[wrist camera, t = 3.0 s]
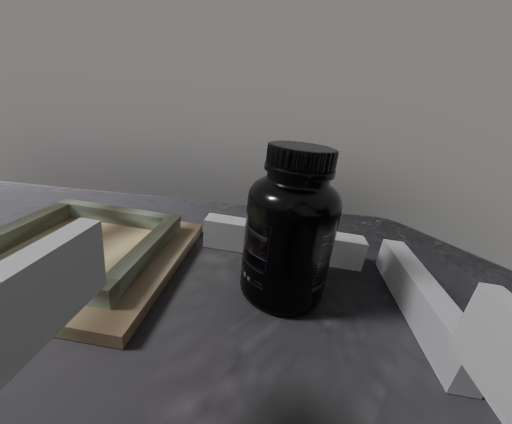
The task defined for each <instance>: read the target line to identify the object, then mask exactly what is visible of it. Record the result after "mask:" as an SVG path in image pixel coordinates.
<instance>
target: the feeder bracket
mask: <svg viewBox="0 0 512 424" xmlns="http://www.w3.org/2000/svg"><path fill="white" fill-rule="evenodd" d="M245 223H246V218H241V217H235V216H228V215H221V214H215V213H209V214H208V215H207V217H206V218H205V220H204V232H203V247H207V248H213V249H220V250H226V251H232V252H239V253H243V245H244V234H245ZM368 247H369V245H368V243H367V241H366V239H365V238H364V236H361V235H354V234H347V233H341V232H337V234H336V238H335V242H334V247H333V251H332V255H331V260H330V264H329V267H333V268H340V269H346V270H352V271H359V272H361V269H362V266H363V263H364V260H365V256H366V253H367V250H368ZM375 265H376V266H377V268H378V270H379V272H380V274H381V276H382V277H383V279H384V281H385V283H386V285H387V286H388V288H389V290H390V292H391V294H392V296H393V297H394V299H395V301H396V303H397V305H398V307H399V308H400V310H401V312H402V314H403V316H404V317H405V319H406V321H407V323H408V325H409V327H410V328H411V330H412V332H413V334H414V336H415V337H416V339H417V341H418V343H419V345H420V347H421V348H422V350H423V352H424V354H425V356H426V358H427V359H428V361H429V363H430V365H431V367H432V368H433V370H434V372H435V374H436V376H437V378H438V379H439V381H440V383H441V385H442V387H443V388H444V390H445V392H446V393H448V394H454V395H460V396H465V397H471V398H476V399H482V398H483V395H482V394H481V392H480V391H479V389H478V388H477V386H476V385H475V383H474V382H473V380H472V379H471V377H470V376H469V374H468V373H467V372H466V370H465V369H464V367H463V366H462V364H461V363H460V361H459V360H458V358H457V357H456V355H455V354H454V352H453V351H452V349H451V348H450V347H449V345H448V343H449V341H450V339H451V337H452V335H453V333H454V331H455V329H456V327H457V325H458V323H459V321H460V319H461V317H462V315H463V312H462V311H461V309H460V308H459V307H458V306H457V305H456V304H455V302H454V301H453V300H452V299H451V298H450V296H449V295H448V294H447V293H446V292H445V290H444V289H443V288H442V287H441V286H440V285H439V283H438V282H437V281H436V280H435V279H434V277H433V276H432V275H431V274H430V273H429V272H428V270H427V269H426V268H425V267H424V266H423V264H422V263H421V262H420V261H419V260H418V258H417V257H416V256H415V255H414V254H413V253H412V251H411V250H410V249H409V248H408V247H407V245H406V244H405V243H404V242H400V241H394V240H387V239H383V242H382V245H381V248H380V251H379V254H378V257H377V260H376V263H375Z"/></svg>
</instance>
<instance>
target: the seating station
mask: <svg viewBox="0 0 512 424" xmlns="http://www.w3.org/2000/svg"><path fill="white" fill-rule="evenodd" d="M80 217H82V218H88V219H94V220H100V221H101V225H102V236H103V248H104V259H105V271H106V282H107V285H106V286H105V287H104V288H103V289H102V290H101V291H100V292H99V293H98V294H97V295H96V296H95V297H94V298H93V299H92V300H91V301H90V302H89V303H88V304H87V305H86V306H85V307H84V308H83V309H82V310H81V311H80V312H79V313H78V314H77V315H76V316H75V317H74V318H73V319H72V320H71V321H70V322H69V323H68V324H67V325H66V326H65V327H64V328H63V329H62V330H61V331H60V332H59V333H58V334H56V335H55V336H54V337H55V338H60V339H66V340H71V341H77V342H82V343H87V344H93V345H98V346H104V347H109V348H115V349H120V350H123V349H124V348H125V346H126V345H127V343H128V342H129V340H130V339H131V337H132V336H133V334H134V333H135V331H136V330H137V328H138V327H139V325H140V324H141V322H142V321H143V319H144V318H145V316H146V315H147V313H148V312H149V310H150V309H151V307H152V306H153V304H154V303H155V301H156V300H157V299H158V297H159V296H160V294H161V293H162V291H163V290H164V288H165V287H166V285H167V284H168V282H169V281H170V279H171V278H172V276H173V275H174V273H175V272H176V270H177V269H178V267H179V266H180V264H181V263H182V261H183V260H184V258H185V257H186V255H187V254H188V252H189V251H190V249H191V248H192V246H193V245H194V243H195V242H196V240H197V239H198V237H199V236H200V234H201V233H202V225H201V224H194V223H188V222H181V216H178V215H171V214H165V213H158V212H151V211H145V210H138V209H132V208H125V207H119V206H112V205H105V204H99V203H92V202H86V201H79V200H73V199H65V200H62V201H60V202H58V203H55V204H53V205H51V206H48V207H46V208H44V209H41V210H39V211H37V212H34V213H32V214H29V215H27V216H25V217H22V218H20V219H18V220H15V221H13V222H11V223H8V224H6V225H4V226H1V227H0V261H1V260H3V259H4V258H6V257H8V256H10V255H12V254H14V253H16V252H17V251H19V250H21V249H23V248H25V247H27V246H28V245H30V244H32V243H34V242H36V241H38V240H40V239H41V238H43V237H45V236H47V235H49V234H51V233H53V232H54V231H56V230H58V229H60V228H62V227H64V226H65V225H67V224H69V223H71V222H73V221H75V220H77V219H78V218H80Z"/></svg>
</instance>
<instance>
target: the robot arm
mask: <svg viewBox="0 0 512 424" xmlns="http://www.w3.org/2000/svg"><path fill="white" fill-rule="evenodd" d="M106 285H107V282H106V271H105V259H104V248H103V236H102V225H101V221H100V220H94V219H88V218H82V217H80V218H78V219H77V220H75V221H73V222H71V223H69V224H67V225H65V226H64V227H62V228H60V229H58V230H56V231H54V232H53V233H51V234H49V235H47V236H45V237H43V238H41V239H40V240H38V241H36V242H34V243H32V244H30V245H28V246H27V247H25V248H23V249H21V250H19V251H17V252H16V253H14V254H12V255H10V256H8V257H6V258H4V259H3V260H1V261H0V390H1V389H2V388H3V387H4V386H5V385H6V384H7V383H8V382H9V381H10V380H11V379H12V378H13V377H14V376H15V375H16V374H17V373H18V372H19V371H20V370H21V369H22V368H23V367H24V366H25V365H26V364H27V363H28V362H29V361H30V360H31V359H32V358H33V357H34V356H35V355H36V354H37V353H38V352H39V351H40V350H41V349H42V348H43V347H44V346H45V345H46V344H47V343H48V342H49V341H50V340H51V339H52V338H53V337H54V336H55V335H56V334H58V333H59V332H60V331H61V330H62V329H63V328H64V327H65V326H66V325H67V324H68V323H69V322H70V321H71V320H72V319H73V318H74V317H75V316H76V315H77V314H78V313H79V312H80V311H81V310H82V309H83V308H84V307H85V306H86V305H87V304H88V303H89V302H90V301H91V300H92V299H93V298H94V297H95V296H96V295H97V294H98V293H99V292H100V291H101V290H102V289H103V288H104V287H105V286H106ZM448 345H449V347H450V348H451V349H452V351H453V352H454V354H455V355H456V357H457V358H458V360H459V361H460V363H461V364H462V366H463V367H464V369H465V370H466V372H467V373H468V374H469V376H470V377H471V379H472V380H473V382H474V383H475V385H476V386H477V388H478V389H479V391H480V392H481V394H482V395H483V397H484V398H485V399H486V401H487V402H488V404H489V405H490V407H491V408H492V410H493V411H494V413H495V414H496V416H497V417H498V419H499V420H500V422H501V423H502V424H512V293H511V292H510V291H508V290H507V289H506V288H505V287H504V286H500V285H493V284H487V283H481V282H479V284H478V286H477V288H476V290H475V292H474V294H473V296H472V297H471V299H470V301H469V303H468V305H467V307H466V309H465V311H464V313H463V315H462V317H461V319H460V321H459V323H458V325H457V327H456V329H455V331H454V333H453V335H452V337H451V339H450V341H449V343H448Z"/></svg>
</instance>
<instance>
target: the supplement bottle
mask: <svg viewBox="0 0 512 424" xmlns="http://www.w3.org/2000/svg"><path fill="white" fill-rule="evenodd" d="M337 159H338V151H337V150H336V149H333V148H330V147H327V146H323V145H318V144H312V143H304V142H296V141H295V142H294V141H272V142H269V143H268V148H267V157H266V161H265V167H264V168H265V170H266V171H267V176H265V177H262V178H260V179H259V180H257V181H256V182H255V183H254V184H253V185H252V187H251V188H250V190H249V194H248V203H247V213H246V223H245V234H244V245H243V256H242V266H241V280H240V284H241V289H242V292H243V294H244V296H245V297H246V299H247V300H248V301H249V302H250V303H251V304H252V305H254V306H255V307H257V308H258V309H260V310H262V311H264V312H266V313H269V314H272V315H277V316H284V317H292V316H299V315H303V314H305V313H308V312H310V311H311V310H313V309H314V308H315V307H316V306H317V305H318V303H319V302H320V300H321V297H322V293H323V289H324V286H325V281H326V277H327V273H328V268H329V264H330V260H331V255H332V251H333V247H334V242H335V238H336V234H337V229H338V225H339V221H340V216H341V211H342V201H341V197H340V195H339V194H338V192H337V191H336V190H335V189H334V188H333V187H332V186H331V185H330V184H329V183H330V180H332V179H334V177H335V174H336V170H335V168H336V164H337Z"/></svg>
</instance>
